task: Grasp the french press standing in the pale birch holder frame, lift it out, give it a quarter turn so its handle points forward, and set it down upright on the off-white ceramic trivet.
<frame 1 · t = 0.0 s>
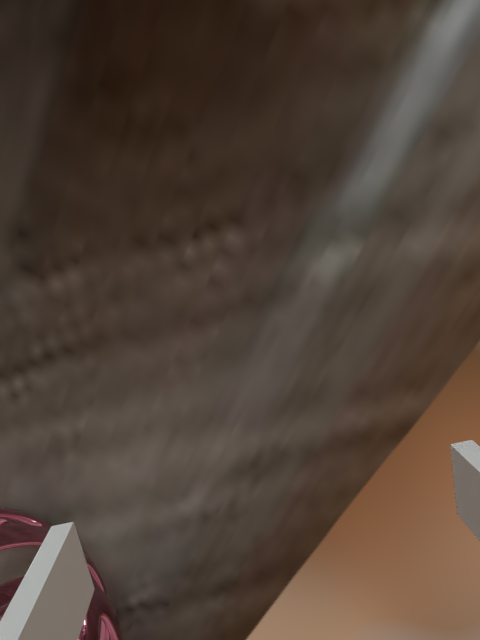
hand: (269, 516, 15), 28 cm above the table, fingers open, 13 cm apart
spiral basket: (29, 575, 47), on the table
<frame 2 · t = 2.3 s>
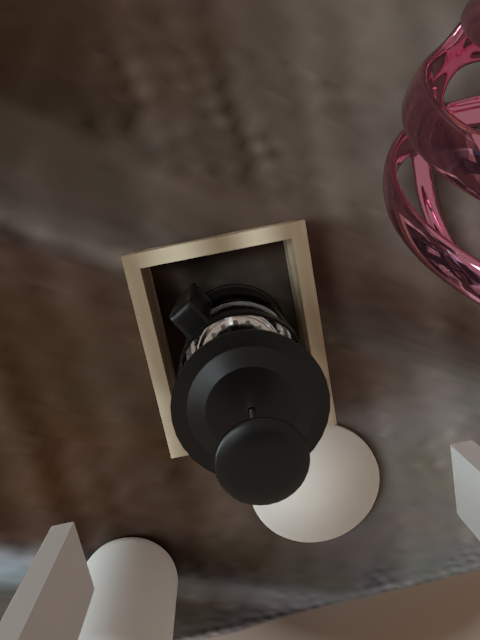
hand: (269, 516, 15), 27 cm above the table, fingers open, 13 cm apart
trivet: (313, 481, 45), on the table
holder: (232, 330, 41), on the table
wine bottle: (132, 571, 46), on the table
french press: (232, 329, 42), resting in holder
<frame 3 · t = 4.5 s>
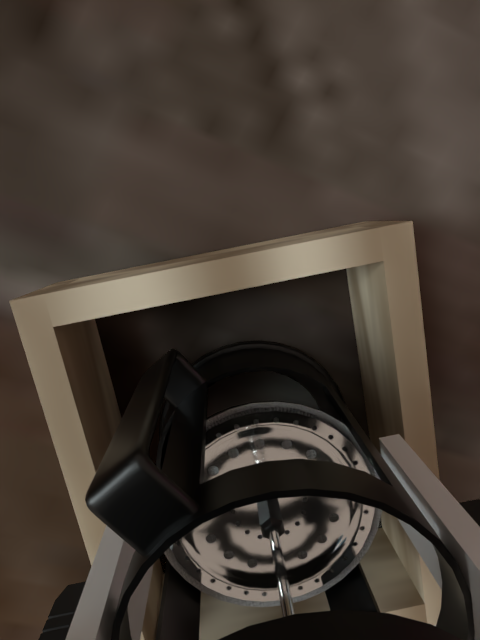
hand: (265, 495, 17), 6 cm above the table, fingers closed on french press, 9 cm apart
holder: (247, 423, 23), on the table
french press: (247, 422, 23), resting in holder, touching gripper
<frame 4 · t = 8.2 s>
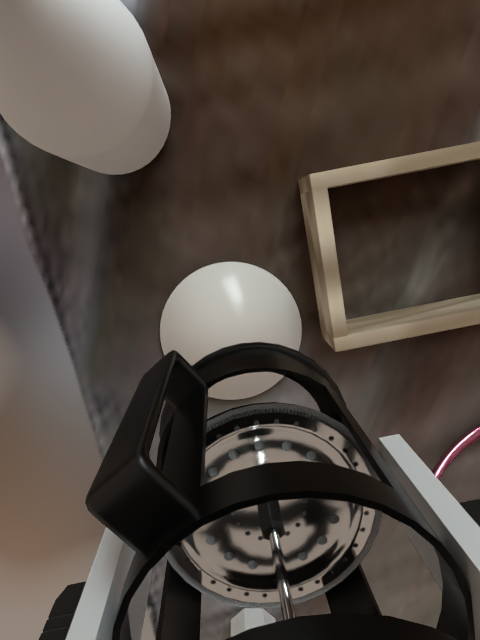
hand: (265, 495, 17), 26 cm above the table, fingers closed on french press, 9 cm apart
trivet: (231, 331, 42), on the table
cup: (252, 625, 49), on the table
holder: (404, 243, 41), on the table
wine bottle: (115, 116, 38), on the table
french press: (247, 423, 23), point 20 cm above the table, touching gripper
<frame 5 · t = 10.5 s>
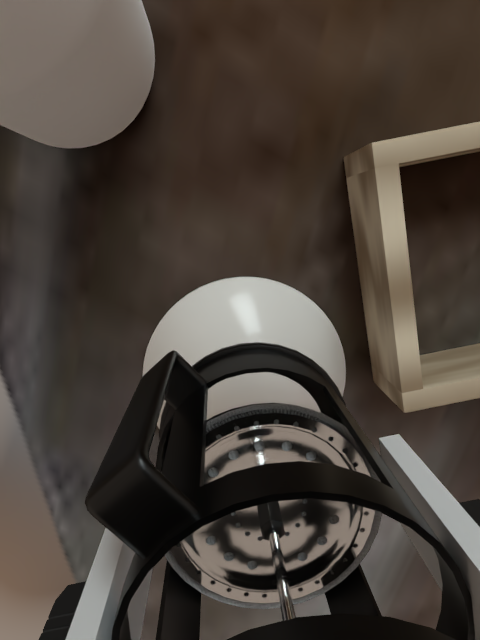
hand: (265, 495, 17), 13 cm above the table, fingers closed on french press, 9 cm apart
trivet: (244, 375, 29), on the table
wine bottle: (72, 62, 25), on the table
french press: (247, 423, 23), point 7 cm above the table, touching gripper
when the fingers open (8 cm above the table, at t = 12.1 s): french press drops 1 cm, resting on trivet.
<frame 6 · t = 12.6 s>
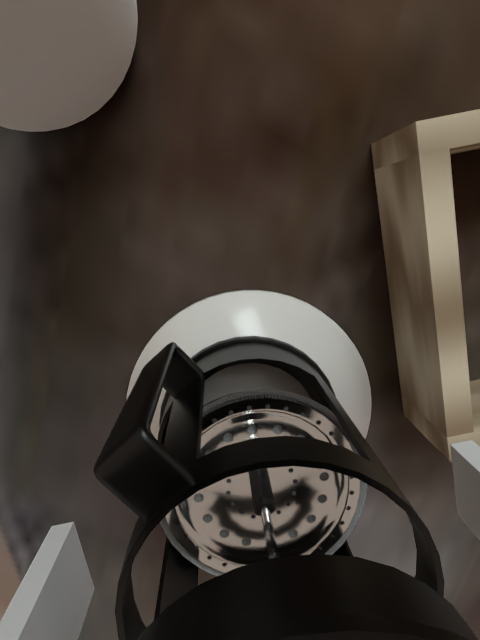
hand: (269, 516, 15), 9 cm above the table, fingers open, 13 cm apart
trivet: (249, 408, 24), on the table
wine bottle: (35, 25, 20), on the table
french press: (242, 413, 24), resting on trivet
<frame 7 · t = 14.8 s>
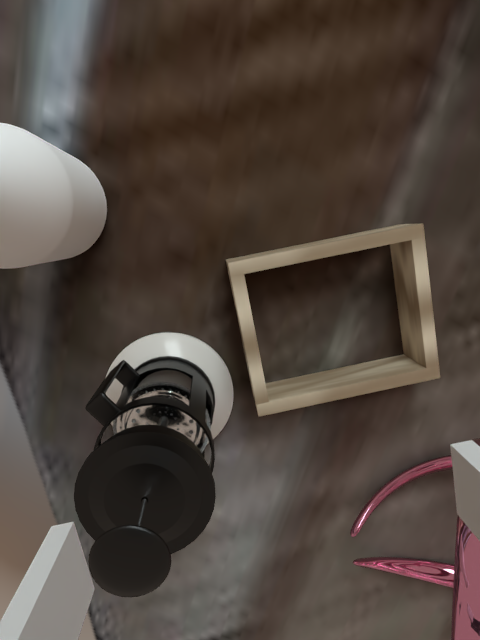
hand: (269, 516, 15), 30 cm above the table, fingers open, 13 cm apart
trivet: (169, 394, 46), on the table
holder: (324, 313, 45), on the table
wine bottle: (57, 207, 42), on the table
spiral basket: (445, 515, 51), on the table
french press: (165, 396, 45), resting on trivet
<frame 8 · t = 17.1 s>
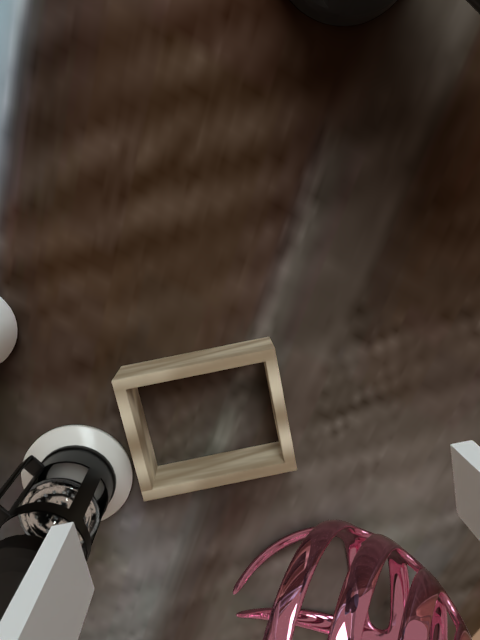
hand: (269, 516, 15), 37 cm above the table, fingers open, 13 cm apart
trivet: (78, 474, 54), on the table
holder: (208, 408, 54), on the table
spiral basket: (322, 572, 60), on the table
french press: (74, 477, 54), resting on trivet
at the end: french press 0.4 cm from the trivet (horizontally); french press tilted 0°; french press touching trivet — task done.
